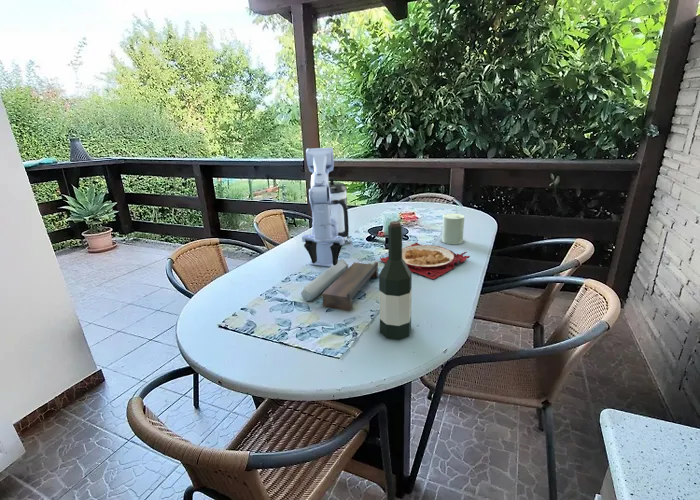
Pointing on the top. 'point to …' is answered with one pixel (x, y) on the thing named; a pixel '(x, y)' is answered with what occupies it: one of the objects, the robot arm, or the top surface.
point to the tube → (323, 281)
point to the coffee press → (339, 207)
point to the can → (453, 228)
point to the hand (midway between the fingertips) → (324, 263)
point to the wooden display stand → (348, 286)
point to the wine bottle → (395, 289)
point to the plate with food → (429, 259)
